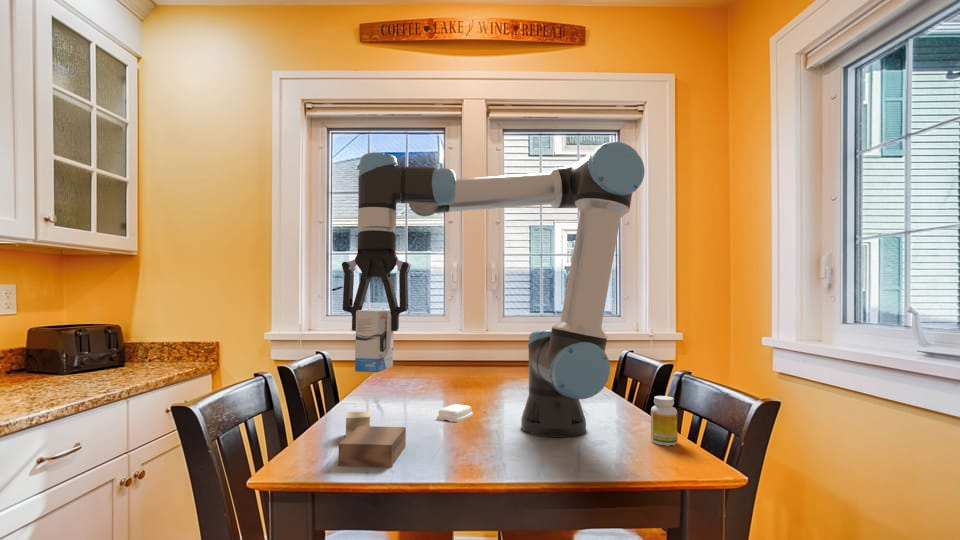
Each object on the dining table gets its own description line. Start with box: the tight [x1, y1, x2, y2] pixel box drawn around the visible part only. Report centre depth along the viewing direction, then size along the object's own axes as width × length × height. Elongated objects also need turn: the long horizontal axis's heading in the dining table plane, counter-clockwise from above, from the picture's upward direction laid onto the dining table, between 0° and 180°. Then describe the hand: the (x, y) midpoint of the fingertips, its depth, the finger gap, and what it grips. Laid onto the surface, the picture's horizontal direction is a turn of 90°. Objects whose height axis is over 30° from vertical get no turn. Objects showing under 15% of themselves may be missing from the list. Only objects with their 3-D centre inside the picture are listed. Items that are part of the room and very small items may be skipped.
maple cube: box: [345, 410, 371, 438], centre depth 109 cm, size 5×5×5 cm
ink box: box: [354, 308, 394, 373], centre depth 97 cm, size 8×5×12 cm, turn 169°
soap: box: [436, 403, 474, 423], centre depth 127 cm, size 9×7×3 cm
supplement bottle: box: [650, 395, 679, 447], centre depth 106 cm, size 5×5×10 cm
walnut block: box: [337, 425, 407, 468], centre depth 96 cm, size 10×12×4 cm
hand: (375, 347), depth 97 cm, fingers closed on ink box, 5 cm apart
